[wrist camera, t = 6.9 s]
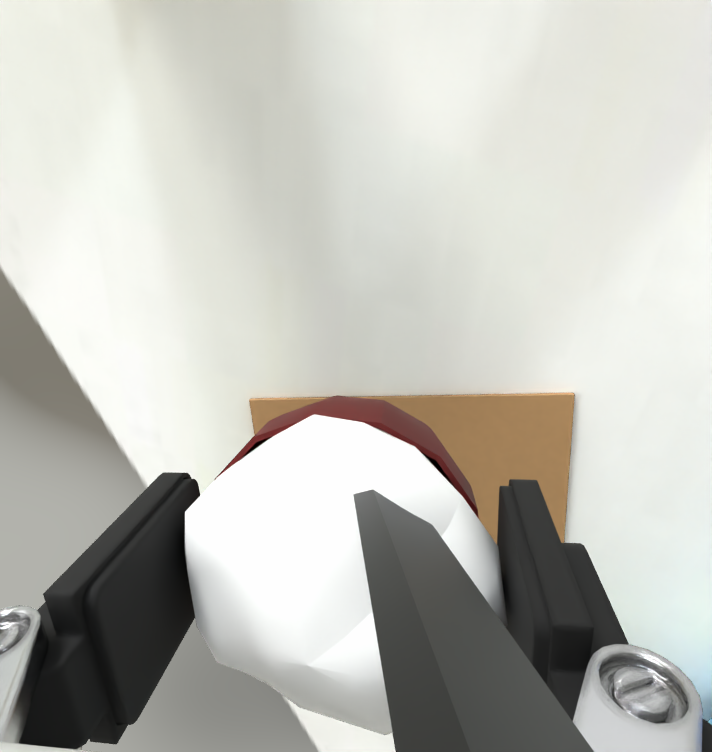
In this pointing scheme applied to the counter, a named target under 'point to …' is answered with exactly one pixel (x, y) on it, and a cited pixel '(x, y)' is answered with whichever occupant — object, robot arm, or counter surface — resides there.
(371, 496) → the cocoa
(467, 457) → the brown rectangular board
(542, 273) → the counter surface
